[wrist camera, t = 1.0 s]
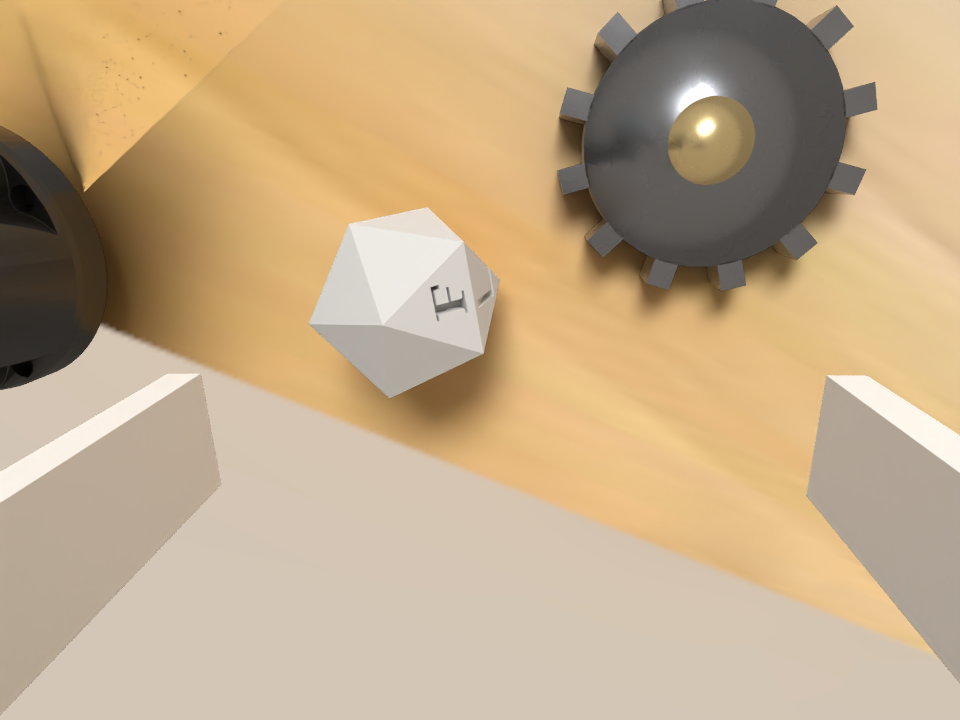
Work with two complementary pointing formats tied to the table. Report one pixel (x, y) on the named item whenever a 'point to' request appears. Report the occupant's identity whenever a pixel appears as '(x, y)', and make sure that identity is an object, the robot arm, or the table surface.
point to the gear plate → (714, 135)
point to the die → (405, 300)
